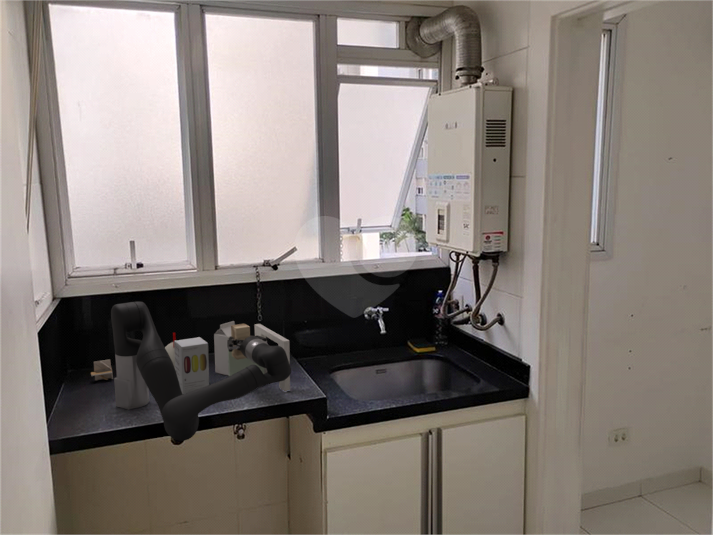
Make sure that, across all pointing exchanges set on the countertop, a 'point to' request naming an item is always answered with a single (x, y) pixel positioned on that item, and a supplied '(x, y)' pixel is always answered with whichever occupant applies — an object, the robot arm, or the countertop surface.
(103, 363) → the architectural model
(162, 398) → the robot arm
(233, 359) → the door
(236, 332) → the block
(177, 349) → the supplement box
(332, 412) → the countertop surface
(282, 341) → the door frame
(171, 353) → the kitchen timer
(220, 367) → the milk carton
